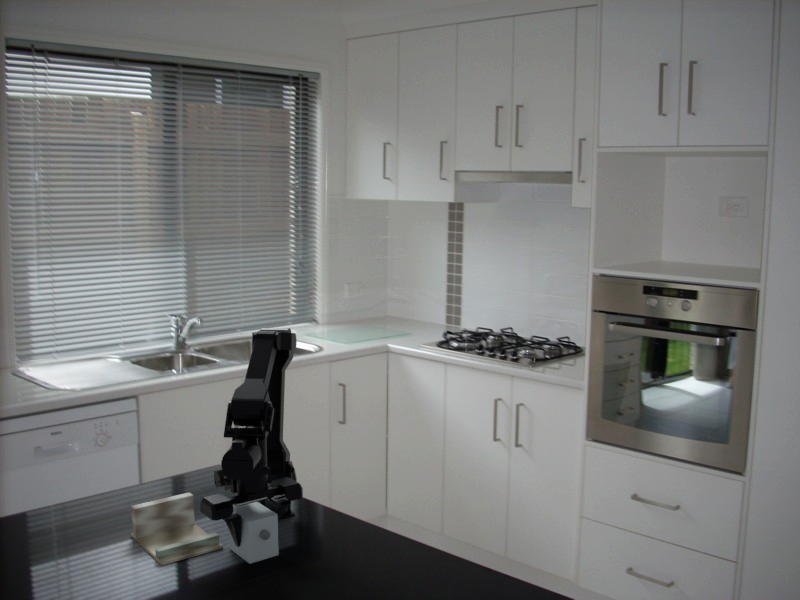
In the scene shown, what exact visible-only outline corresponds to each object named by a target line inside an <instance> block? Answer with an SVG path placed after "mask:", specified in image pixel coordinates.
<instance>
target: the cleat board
mask: <svg viewBox="0 0 800 600" xmlns="http://www.w3.org/2000/svg"><path fill="white" fill-rule="evenodd" d="M194 498H195V497H194V494H192V493H191V492H190V491H189V492H185V493H181V494H175V495H173V496H168V497H163V498H159V499H155V500H150V501H146V502H142V503H138V504H134V505H131V506H130V508H131V509H130V510H131V511H130V513H131V528H132V531H131V532H132V533H130V537H131V539H133V540H134V541H135V542H136V543H137V544H138V545H140V546H141V548H142V549H144V550H145V551H146V552H147V553H148V554H150V556H152V557H153V558H154V559H155V560H156V561H157V562H158V563H159V564H160V565H161V566H164V565H169V564H171V563H175V562H178V561H182V560H186V559H190V558H193V557H196V556H200V555H203V554H207V553H211V552H214V551H218V550H221V549H223V548H224V547H223V546H224V545H223V544H222V543H221V542H220V534H218V532H213V533H208V532H206V530H204V529H202V528H201V527H200V526H199V525H197V524H196V523H195V522H196V521H195V501H194V500H195V499H194Z"/></svg>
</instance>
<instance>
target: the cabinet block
mask: <svg viewBox="0 0 800 600" xmlns="http://www.w3.org/2000/svg"><path fill="white" fill-rule="evenodd" d="M237 514H239V515H240V516H241V542H240V546H239V547H237V546H236V545H235V543H234V540H233V538H232V535H231V533H230V531H229V530H228V531H229V549H230V550H231V551H232V552H234V553H235V554H237V555H238V556H239V557H240V558H242V559H243V560H244V561H245V562H246V563H248V564H253V563H257V562H260V561H264V560H267V559H269V558H274V557H276V556H279V555H280V554H279V553H280V552H279V523H278V514H276V513H274V512H273V511H271V510H270V509H268V508H267V507H265V506H263V505H262V504H260V503H259V502H254V503H250V504H246V505H242V506H238V507H237Z"/></svg>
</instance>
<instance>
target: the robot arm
mask: <svg viewBox="0 0 800 600" xmlns="http://www.w3.org/2000/svg"><path fill="white" fill-rule="evenodd" d="M251 335H252V336H251V353H250V357H249V360H248V361H249V362H248V366H247V369H246V373H245V378H244V381H243V383H241V384H240V385H239V386H237V388H235V389H234V392H233V395H232V397H231V399H230V401H229V402H228V404H227V410H226V416H225V423H224V424H225V425H224V431H223V438H226V439H227V438H230V439H231V440H232V441H231V445H230V447H229V448H228V449H227V451H226V452H225V453H224V455H222V457H221V462H220V463H221V464H220V465H221V469H218V470H214V471H213V481H214V486H215V487H216V488H221V487H223V488H224V491H228V490H230V493H232V494H236V495H235V496H231V497H230V496H229V497H227V496H225V495H223V494H222V493H220V492H219V493H216V494H211V495H207V496H203V498H202V499H201V501H200V503H199V510H200V511H199V512H200V513H201V514H203V515H204V516H206V517H207V518H208V519H210V520H211V521H215V522H216V521H220V520H223V521H224V522H225V524H226V525H227V528H228V529H229V530H228V531H230V533H231V535H232V538H233V540H234V543H235V545H236V546H237V547H239V546H240V542H241V516H240V515H239V514H237V507H238V506H242V505H246V504H250V503H254V502H259V503H260V504H262V505H263V506H265V507H267V508H268V509H270V510H271V511H273V512H274V513H276V514H278V524H279V522H280V520H282V519H285V518H286V519H287V518H289V517H293V516H296V513H295V511H293V510H292V502H293V501H296V500H300V499H303V497H304V488H303V486H302V484H300V482H299V481H298V480H297V474H296V469H295V467H294V465H293V461H291V452H290V450H289V449H288V447H287V445H286V443H285V442H284V415H285V387H286V386H285V385H286V384H285V383H286V370H287V369H288V367H289V365H290V364H291V362H292V361H293V359H294V351H296V350H297V334H296V333H295V332H292V330H291V328H290V327H262V328H260V330H257V331H255V332H251ZM232 426H234V427H232ZM230 533H229V534H230Z"/></svg>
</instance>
